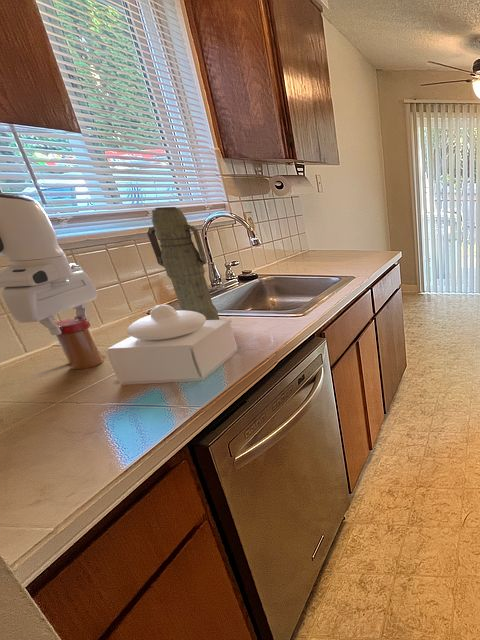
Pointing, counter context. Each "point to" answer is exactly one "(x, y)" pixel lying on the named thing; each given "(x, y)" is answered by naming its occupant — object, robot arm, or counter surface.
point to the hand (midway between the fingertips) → (71, 328)
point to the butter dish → (172, 347)
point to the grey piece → (182, 260)
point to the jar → (80, 349)
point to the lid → (74, 325)
